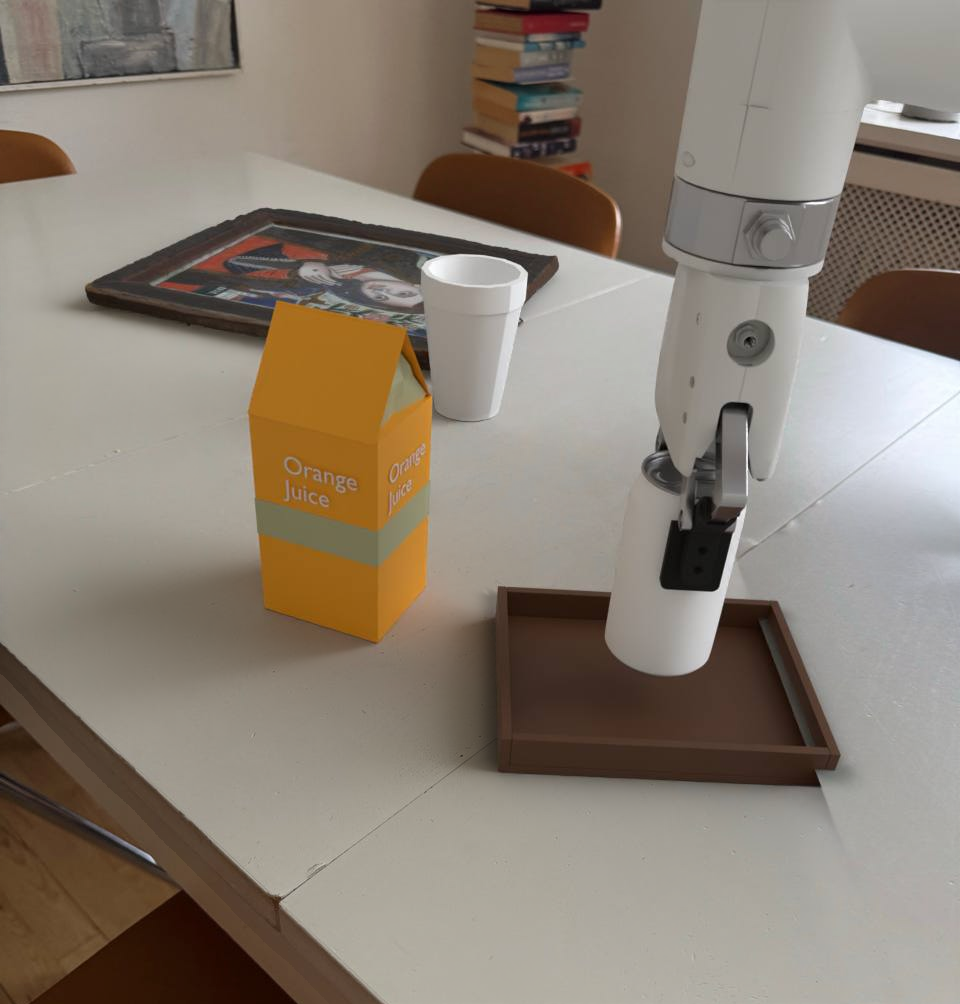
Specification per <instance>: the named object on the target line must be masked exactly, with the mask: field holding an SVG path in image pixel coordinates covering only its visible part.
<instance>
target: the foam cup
mask: <svg viewBox="0 0 960 1004" xmlns="http://www.w3.org/2000/svg"><path fill="white" fill-rule="evenodd" d="M527 277H528V272H527V271H526V270H525V269H524V268H523V267H522V266H521V265H518V264H516V263H513V262H511V261H508V260H506V259H501V258H496V257H491V256H485V255H469V254H457V255H447V256H440V257H437V258H434V259H431V260H428V261H426V262H425V264H424V265H423V266H422V268H421V296H422V297H423V301H424V311H425V321H426V331H427V341H428V351H429V361H430V380H431V389H432V401H433V402H434V403H433V407H434V408H435V410H436V411H437V413H438V414H440V415H442V416H444V417H446V418H448V419H451V420H456V421H461V422H479V421H480V422H481V421H486V420H490V419H492V418H494V417H495V416H497V415H498V414H499V411H500V408H501V404H502V400H503V395H504V391H505V386H506V383H507V377H508V373H509V368H510V363H511V360H512V359H511V358H512V354H513V349H514V344H515V340H516V335H517V332H518V331H517V330H518V326H519V324H518V322H520V320H519V317H520V316H521V311H522V308H523V307H524V305H525V304H524V301H525V299H526V288H527ZM523 304H524V305H523ZM520 318H521V317H520Z"/></svg>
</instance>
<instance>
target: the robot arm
mask: <svg viewBox="0 0 960 1004" xmlns="http://www.w3.org/2000/svg"><path fill="white" fill-rule="evenodd" d="M696 32H697V33H696V39H695V45H694V50H693V56H692V62H691V67H690V74H689V80H688V87H687V92H686V100H685V104H684V111H683V116H682V122H681V128H680V134H679V141H678V145H677V146H678V147H677V151H676V159H675V164H674V171H673V177H672V182H671V188H670V195H669V201H668V206H667V213H666V219H665V223H664V224H665V225H664V230H663V235H662V241H661V250H662V252H663V253H664V254H665V255H666V256H667V257H668V258H670V259H672V260H673V261H675V262H676V263H677V268H675V269H676V270H675V272H674V280H673V284H672V285H673V286H672V290H671V294H670V299H669V304H668V308H667V309H668V310H667V313H666V320H665V323H664V328H663V329H664V330H663V334H662V339H661V341H662V342H661V346H660V351H659V357H658V363H657V369H656V377H655V386H654V387H655V388H654V404H655V406H654V407H655V411H656V412H655V413H656V415H657V418H658V419H657V420H658V423H659V428H658V431H657V434H656V436H655V437H656V438H655V442H654V443H655V444H654V453H655V452H658V451H662V450H669V453H670V456H671V459H672V461H673V464H674V466H675V467H676V468H677V469H678V470H679V472H680V473H682V474H683V476H682V486H681V496H680V506H679V515H678V520H671V524H670V528H669V533H668V538H667V543H666V548H665V553H664V558H663V563H662V568H661V573H660V577H659V580H660V584H661V587H662V588H663V589H667V590H685V591H704V592H714V591H716V590H717V589H718V588H719V586H720V583H721V579H722V575H723V571H724V567H725V563H726V559H727V555H728V551H729V547H730V543H731V539H732V535H733V533H734V531H735V528H736V523H737V517H739V516H740V513H741V511H742V510H743V509H744V508H745V507H746V505H747V503H748V497H749V493H748V491H749V488H748V487H749V486H748V485H749V483H748V480H749V478H748V476H749V474H750V476H751V478H752V479H755V480H756V481H757V482H760V483H762V482H763V483H764V482H766V481H768V480H769V479H770V478H771V477H772V476H773V475H774V474H775V471H776V467H777V463H778V459H779V456H780V451H781V446H782V442H783V437H784V432H785V429H786V428H785V427H786V423H787V418H788V413H789V410H790V405H791V401H792V400H791V399H792V394H793V391H794V390H793V389H794V386H795V380H796V376H797V372H798V365H799V360H800V355H801V350H802V345H803V344H802V343H803V338H804V331H805V323H806V316H807V310H808V309H807V308H808V299H809V289H810V288H809V287H810V281H809V278H810V277H813V276H816V275H817V274H819V273H820V272H821V271H822V270H823V267H824V262H825V258H826V255H827V252H828V247H829V244H830V240H831V236H832V233H833V228H834V224H835V221H836V216H837V213H838V209H839V204H840V202H841V197H842V192H843V189H844V186H845V181H846V178H847V174H848V170H849V166H850V162H851V159H852V155H853V152H854V148H855V145H856V140H857V136H858V133H859V129H860V125H861V122H862V118H863V114H864V110H865V107H867V105H868V104H870V103H872V102H874V101H883V102H889V103H890V102H891V103H898V104H904V105H909V106H914V107H918V108H919V107H920V108H924V109H929V110H933V111H937V112H942V113H951V114H960V0H702V1H701V8H700V14H699V20H698V26H697V31H696ZM702 457H715V469H713V468H696V461H697V458H702ZM748 472H749V473H748ZM697 481H714V482H715V485H714V488H713V490H712V491H711V496H703V497H702V498H701V499H700V500H699V501H698V502H697V503H696V504H695V499H696V490H697ZM746 508H747V507H746Z"/></svg>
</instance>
